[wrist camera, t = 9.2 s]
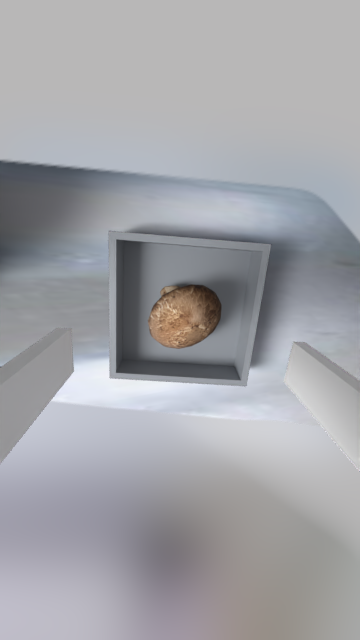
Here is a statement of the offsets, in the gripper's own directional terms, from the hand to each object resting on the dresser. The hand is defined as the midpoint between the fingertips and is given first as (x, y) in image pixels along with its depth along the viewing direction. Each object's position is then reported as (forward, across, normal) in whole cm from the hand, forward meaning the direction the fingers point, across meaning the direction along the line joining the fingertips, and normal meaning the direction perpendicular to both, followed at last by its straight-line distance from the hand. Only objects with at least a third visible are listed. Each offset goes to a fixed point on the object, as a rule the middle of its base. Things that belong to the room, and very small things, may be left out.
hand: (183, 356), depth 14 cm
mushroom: (+14, +1, -1) cm, 14 cm away
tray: (+14, +1, -1) cm, 15 cm away
